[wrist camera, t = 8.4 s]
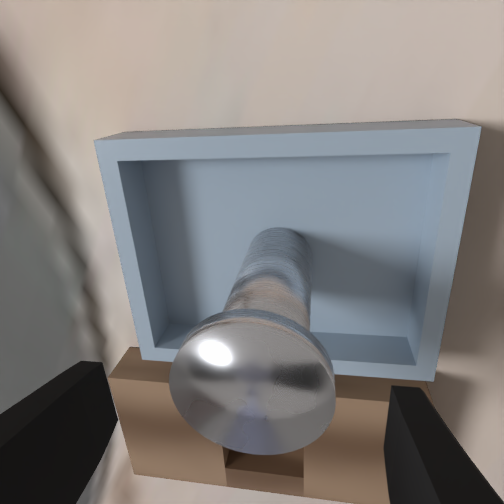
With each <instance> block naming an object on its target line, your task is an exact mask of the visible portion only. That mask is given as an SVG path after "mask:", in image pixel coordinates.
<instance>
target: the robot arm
mask: <svg viewBox="0 0 504 504" xmlns="http://www.w3.org/2000/svg"><path fill="white" fill-rule="evenodd" d="M117 421H118V418H117V414H116V411H115V407H114V403H113V400H112V396H111V392H110V389H109V385H108V382H107V378H106V374H105V371H104V367H103V364H102V362H90V361H80V362H79V363H77V364H75V365H74V366H72V367H70V368H69V369H67V370H66V371H64V372H63V373H61V374H60V375H58V376H57V377H55V378H54V379H52V380H51V381H49V382H48V383H46V384H45V385H43V386H42V387H40V388H39V389H37V390H36V391H34V392H33V393H31V394H30V395H28V396H27V397H25V398H24V399H22V400H21V401H20V402H18V403H17V404H15V405H14V406H12V407H11V408H9V409H8V410H6V411H5V412H3V413H2V414H0V504H76V503H77V501H78V499H79V497H80V496H81V494H82V492H83V491H84V489H85V487H86V485H87V483H88V482H89V480H90V478H91V476H92V475H93V473H94V471H95V469H96V468H97V466H98V464H99V462H100V460H101V458H102V456H103V454H104V452H105V449H106V447H107V445H108V443H109V440H110V438H111V436H112V433H113V431H114V428H115V426H116V423H117ZM383 450H384V459H385V469H386V477H387V486H388V494H389V500H390V504H504V502H503V501H502V499H501V498H500V497H499V496H498V494H497V493H496V492H495V490H494V489H493V488H492V487H491V485H490V484H489V483H488V481H487V480H486V479H485V477H484V476H483V475H482V473H481V472H480V471H479V469H478V468H477V467H476V465H475V464H474V463H473V462H472V460H471V459H470V458H469V456H468V455H467V453H466V452H465V451H464V449H463V448H462V447H461V445H460V444H459V442H458V441H457V440H456V438H455V437H454V435H453V434H452V433H451V431H450V430H449V428H448V427H447V425H446V424H445V422H444V421H443V420H442V418H441V417H440V415H439V414H438V412H437V411H436V409H435V408H434V406H433V405H432V403H431V402H430V400H429V399H428V397H427V395H426V394H425V392H424V391H423V390H422V389H421V388H420V387H407V386H395V385H391V392H390V400H389V408H388V415H387V423H386V431H385V439H384V447H383Z"/></svg>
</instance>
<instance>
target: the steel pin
mask: <svg viewBox="0 0 504 504" xmlns="http://www.w3.org/2000/svg"><path fill="white" fill-rule="evenodd" d="M312 259H313V258H312V251H311V248H310V246H309V244H308V242H307V241H306V239H305V238H304V237H303V236H301V235H300V234H299V233H297V232H296V231H293V230H291V229H288V228H283V227H274V228H269V229H266V230H264V231H262V232H260V233H259V234H258V235H256V236H255V237H254V239H253V240H252V241H251V243H250V245H249V248H248V250H247V253H246V255H245V257H244V260H243V262H242V265H241V267H240V270H239V272H238V275H237V277H236V280H235V282H234V284H233V287H232V289H231V292H230V294H229V297H228V299H227V302H226V304H225V307H224V309H223V311H222V312H220V313H217V314H214V315H212V316H209V317H208V318H206V319H204V320H202V321H201V322H200V323H198V324H197V325H196V326H194V328H193V329H192V330H191V331H190V332H189V333H188V335H187V336H186V338H185V339H184V341H183V343H182V345H181V347H180V349H179V351H178V353H177V355H176V357H175V359H174V361H173V363H172V365H171V369H170V373H169V388H170V393H171V397H172V400H173V402H174V404H175V406H176V408H177V410H178V411H179V413H180V414H181V416H182V417H183V418H184V419H185V421H186V422H187V423H188V424H189V425H190V426H191V427H192V428H193V429H195V430H196V431H197V432H198V433H200V434H201V435H203V436H204V437H206V438H207V439H209V440H211V441H212V442H214V443H216V444H218V445H221V446H223V447H225V448H228V449H231V450H234V451H238V452H243V453H248V454H256V455H276V454H284V453H288V452H292V451H295V450H298V449H301V448H303V447H305V446H307V445H309V444H311V443H312V442H314V441H315V440H316V439H318V438H319V437H320V436H321V435H322V434H323V433H324V432H325V430H326V429H327V428H328V426H329V425H330V423H331V421H332V418H333V416H334V413H335V406H336V397H335V377H334V369H333V364H332V362H331V359H330V357H329V355H328V353H327V351H326V349H325V348H324V346H323V345H322V344H321V342H320V341H319V340H318V339H317V338H316V337H315V336H314V335H313V334H312V333H311V332H310V318H311V288H312Z"/></svg>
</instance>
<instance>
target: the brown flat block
mask: <svg viewBox="0 0 504 504" xmlns="http://www.w3.org/2000/svg"><path fill="white" fill-rule="evenodd" d="M172 363H173V362H167V361H153V360H142V356H141V352H140V348H133V347H129V349H128V350H127V352H126V353H125V354H124V356H123V357H122V359H121V360H120V361H119V363H118V364H117V366H116V367H115V368H114V370H113V371H112V373H111V374H110V375H109V377H108V380H109V384H110V388H111V391H112V395H113V399H114V402H115V406H116V409H117V413H118V417H119V420H120V424H121V427H122V431H123V435H124V438H125V442H126V446H127V449H128V453H129V456H130V460H131V464H132V467H133V471H134V474H136V475H144V476H151V477H159V478H166V479H174V480H181V481H189V482H196V483H204V484H211V485H219V486H226V487H234V488H241V489H249V490H256V491H264V492H271V493H279V494H286V495H294V496H301V497H309V498H316V499H324V500H331V501H339V502H346V503H354V504H390V500H389V494H388V486H387V477H386V469H385V459H384V450H383V447H384V439H385V431H386V423H387V415H388V408H389V400H390V392H391V385H395V386H407V387H420V388H421V389H422V390H423V391H424V392H425V394H426V395H427V397H428V399H429V400H430V402H431V403H432V405H433V406H434V404H433V401H432V398H431V396H430V393H429V390H428V387H427V384H426V381H419V380H406V379H392V378H379V377H366V376H353V375H339V374H334V377H335V397H336V406H335V413H334V416H333V418H332V421H331V423H330V425H329V426H328V428H327V429H326V430H325V432H324V433H323V434H322V435H321V436H320V437H319V438H318V439H316V440H315V441H314V442H312V443H311V444H309V445H307V446H305V447H303V448H301V449H298V450H295V451H292V452H288V453H284V454H276V455H256V454H248V453H243V452H238V451H234V450H231V449H228V448H225V447H223V446H221V445H218V444H216V443H214V442H212V441H211V440H209V439H207V438H206V437H204V436H203V435H201V434H200V433H198V432H197V431H196V430H195V429H193V428H192V427H191V426H190V425H189V424H188V423H187V422H186V421H185V419H184V418H183V417H182V416H181V414H180V413H179V411H178V410H177V408H176V406H175V404H174V402H173V400H172V397H171V393H170V388H169V373H170V369H171V365H172Z"/></svg>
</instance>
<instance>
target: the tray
mask: <svg viewBox="0 0 504 504" xmlns="http://www.w3.org/2000/svg"><path fill="white" fill-rule="evenodd" d="M481 128H482V127H481V126H478V125H475V124H472V123H468V122H465V121H462V120H459V119H441V120H416V121H390V122H365V123H339V124H314V125H288V126H263V127H237V128H211V129H186V130H160V131H135V132H122V133H119V134H115V135H111V136H108V137H104V138H100V139H97V140H94V144H95V149H96V153H97V158H98V162H99V167H100V171H101V176H102V181H103V185H104V190H105V194H106V199H107V203H108V208H109V212H110V217H111V221H112V226H113V230H114V235H115V239H116V244H117V248H118V253H119V257H120V262H121V266H122V271H123V275H124V280H125V284H126V289H127V293H128V298H129V302H130V307H131V311H132V316H133V320H134V325H135V329H136V334H137V338H138V343H139V347H140V352H141V356H142V360H153V361H167V362H173V361H174V359H175V357H176V355H177V353H178V351H179V349H180V347H181V345H182V343H183V341H184V339H185V338H186V336H187V335H188V333H189V332H190V331H191V330H192V329H193V328H194V326H196V325H197V324H198V323H200V322H201V321H202V320H204V319H206V318H208V317H209V316H212V315H214V314H217V313H220V312H222V311H223V309H224V307H225V304H226V302H227V299H228V297H229V294H230V292H231V289H232V287H233V284H234V282H235V280H236V277H237V275H238V272H239V270H240V267H241V265H242V262H243V260H244V257H245V255H246V253H247V250H248V248H249V245H250V243H251V241H252V240H253V239H254V237H255V236H256V235H258V234H259V233H260V232H262V231H264V230H266V229H269V228H274V227H283V228H288V229H291V230H293V231H296V232H297V233H299V234H300V235H301V236H303V237H304V238H305V239H306V241H307V242H308V244H309V246H310V248H311V251H312V258H313V259H312V288H311V318H310V332H311V333H312V334H313V335H314V336H315V337H316V338H317V339H318V340H319V341H320V342H321V344H322V345H323V346H324V348H325V349H326V351H327V353H328V355H329V357H330V359H331V362H332V364H333V369H334V374H339V375H353V376H366V377H379V378H392V379H406V380H419V381H432V382H434V378H435V372H436V367H437V362H438V356H439V351H440V346H441V340H442V335H443V330H444V324H445V319H446V314H447V308H448V303H449V298H450V292H451V287H452V282H453V277H454V271H455V266H456V261H457V255H458V250H459V245H460V239H461V234H462V229H463V223H464V218H465V213H466V207H467V202H468V197H469V191H470V186H471V181H472V175H473V170H474V165H475V159H476V154H477V149H478V144H479V138H480V133H481Z"/></svg>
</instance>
